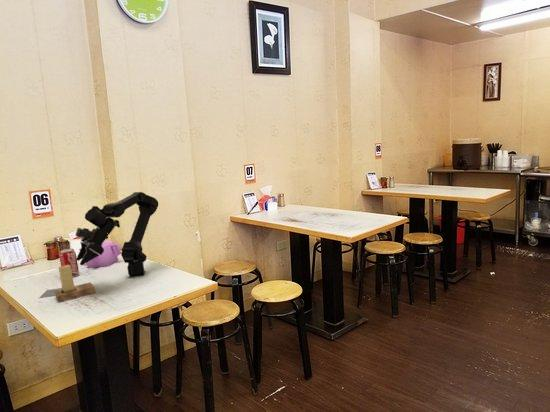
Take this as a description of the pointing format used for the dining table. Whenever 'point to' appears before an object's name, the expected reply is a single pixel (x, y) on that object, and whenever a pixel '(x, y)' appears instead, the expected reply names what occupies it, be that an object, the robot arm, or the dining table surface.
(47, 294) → the mat
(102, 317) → the dining table surface
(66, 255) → the soda can
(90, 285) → the socket block
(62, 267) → the pin
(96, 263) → the teakettle
